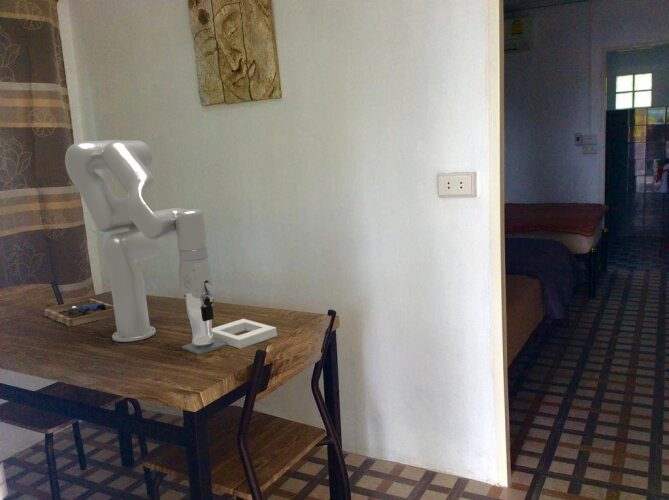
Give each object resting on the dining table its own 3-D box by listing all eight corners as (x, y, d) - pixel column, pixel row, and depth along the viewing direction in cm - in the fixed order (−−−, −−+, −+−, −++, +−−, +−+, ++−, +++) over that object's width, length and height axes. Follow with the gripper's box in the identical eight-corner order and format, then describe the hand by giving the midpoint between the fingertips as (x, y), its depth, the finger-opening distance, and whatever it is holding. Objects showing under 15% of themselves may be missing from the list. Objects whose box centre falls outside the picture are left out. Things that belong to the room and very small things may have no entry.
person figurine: (61, 322, 213) (93, 320, 203) (58, 310, 212) (90, 307, 203) (88, 313, 222) (119, 311, 212) (85, 301, 221) (116, 298, 212)
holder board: (207, 338, 177) (206, 329, 177) (244, 326, 186) (243, 318, 186) (240, 348, 166) (239, 340, 165) (276, 335, 175) (276, 327, 174)
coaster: (181, 348, 170) (181, 346, 170) (209, 339, 176) (209, 337, 176) (199, 354, 163) (198, 352, 163) (227, 345, 169) (226, 343, 169)
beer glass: (210, 346, 165) (204, 293, 163) (186, 346, 167) (180, 293, 164) (219, 338, 172) (214, 286, 169) (196, 338, 173) (191, 287, 171)
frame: (44, 315, 216) (43, 309, 215) (91, 304, 227) (90, 298, 227) (70, 327, 199) (69, 320, 198) (120, 314, 210) (119, 307, 210)
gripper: (165, 254, 169) (172, 316, 172) (198, 260, 156) (206, 326, 159) (188, 249, 174) (195, 309, 177) (223, 255, 161) (229, 319, 165)
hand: (200, 317), depth 168 cm, fingers closed on beer glass, 6 cm apart
